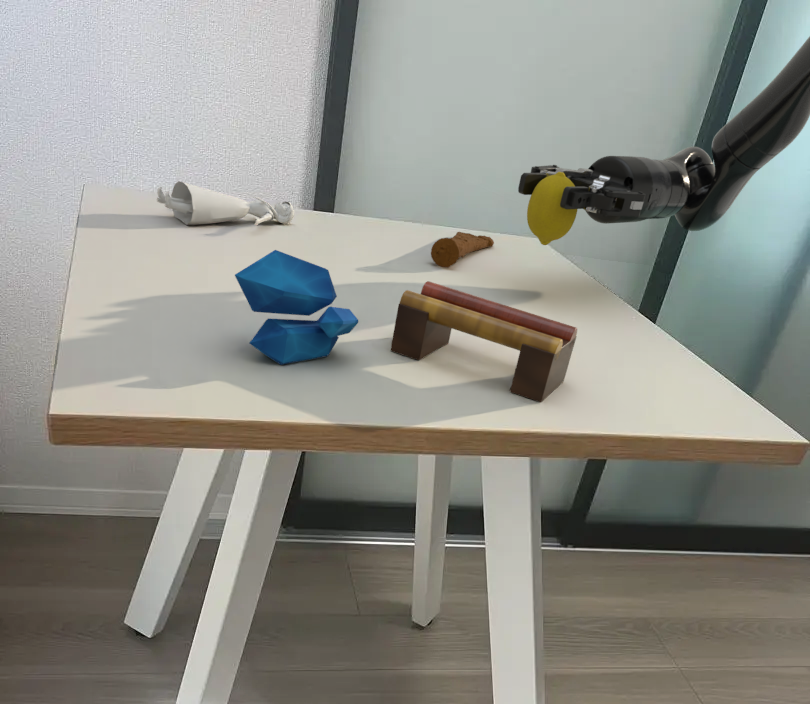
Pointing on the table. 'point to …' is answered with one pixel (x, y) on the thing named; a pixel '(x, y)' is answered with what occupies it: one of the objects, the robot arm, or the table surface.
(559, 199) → the lemon
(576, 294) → the table surface
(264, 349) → the blue crystals
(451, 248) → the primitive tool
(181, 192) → the woman figurine
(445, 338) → the rod rack
